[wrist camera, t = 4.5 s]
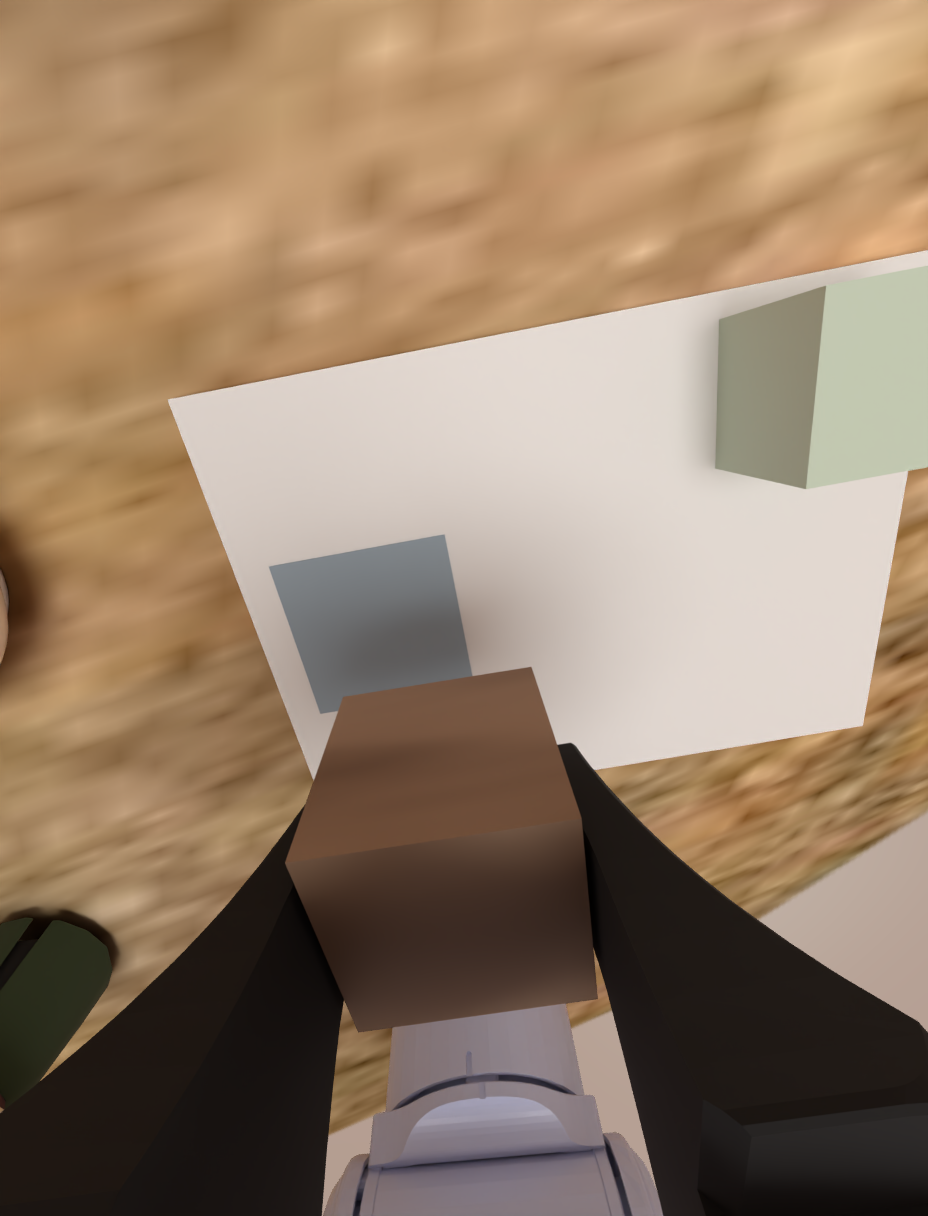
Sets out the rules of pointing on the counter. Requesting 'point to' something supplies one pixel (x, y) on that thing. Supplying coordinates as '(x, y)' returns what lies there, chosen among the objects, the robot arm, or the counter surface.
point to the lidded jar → (3, 615)
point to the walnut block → (446, 855)
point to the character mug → (44, 998)
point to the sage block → (827, 383)
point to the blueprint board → (550, 534)
